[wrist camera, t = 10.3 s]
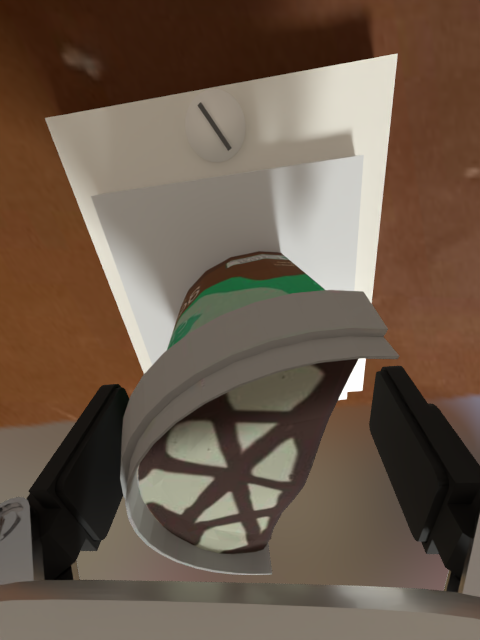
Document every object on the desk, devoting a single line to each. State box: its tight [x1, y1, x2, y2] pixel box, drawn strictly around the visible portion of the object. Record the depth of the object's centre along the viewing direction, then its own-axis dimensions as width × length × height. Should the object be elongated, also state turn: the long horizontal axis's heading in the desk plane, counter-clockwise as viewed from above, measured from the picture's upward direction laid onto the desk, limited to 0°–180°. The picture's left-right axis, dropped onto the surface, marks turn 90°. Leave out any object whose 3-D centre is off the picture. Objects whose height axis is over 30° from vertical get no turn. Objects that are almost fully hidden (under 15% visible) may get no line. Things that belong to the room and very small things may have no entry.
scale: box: [45, 54, 398, 400], centre depth 18 cm, size 16×19×4 cm
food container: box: [120, 251, 399, 575], centre depth 12 cm, size 12×6×10 cm, turn 169°
